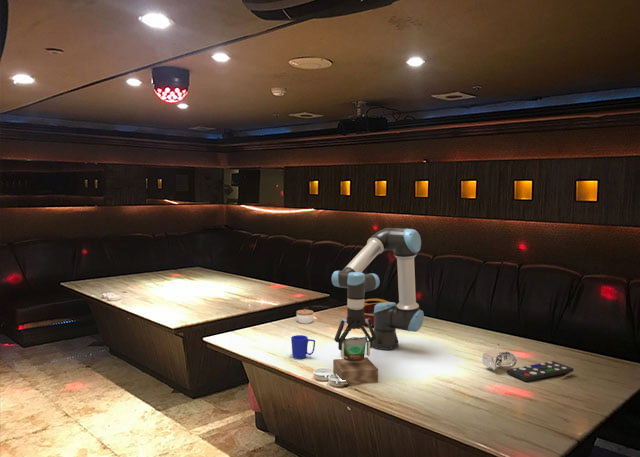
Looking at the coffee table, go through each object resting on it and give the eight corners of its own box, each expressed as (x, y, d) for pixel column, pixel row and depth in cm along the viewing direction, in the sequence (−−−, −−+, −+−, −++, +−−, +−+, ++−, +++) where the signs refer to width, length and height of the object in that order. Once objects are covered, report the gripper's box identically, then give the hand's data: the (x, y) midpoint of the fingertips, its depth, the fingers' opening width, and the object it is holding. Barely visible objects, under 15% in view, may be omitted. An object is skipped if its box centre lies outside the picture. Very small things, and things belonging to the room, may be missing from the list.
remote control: (506, 373, 230) (506, 368, 230) (553, 364, 243) (553, 360, 243) (525, 381, 220) (526, 376, 220) (573, 371, 233) (573, 367, 233)
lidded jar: (294, 322, 316) (294, 307, 315) (310, 321, 319) (310, 306, 318) (298, 326, 305) (299, 311, 305) (315, 325, 309) (315, 310, 308)
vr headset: (493, 373, 229) (495, 350, 227) (480, 365, 237) (481, 343, 235) (516, 368, 235) (518, 346, 233) (502, 360, 243) (504, 339, 241)
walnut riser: (366, 370, 231) (367, 357, 230) (377, 382, 215) (378, 369, 215) (333, 372, 228) (333, 359, 227) (341, 385, 212) (342, 371, 212)
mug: (313, 360, 243) (313, 340, 242) (289, 359, 245) (289, 339, 245) (316, 355, 251) (316, 336, 250) (293, 353, 253) (293, 334, 253)
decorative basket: (412, 322, 319) (412, 299, 318) (388, 331, 296) (388, 306, 295) (368, 313, 340) (368, 292, 339) (342, 322, 318) (342, 298, 317)
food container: (344, 363, 216) (345, 341, 216) (340, 359, 222) (340, 337, 222) (371, 361, 220) (371, 338, 219) (366, 356, 226) (366, 334, 225)
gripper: (378, 304, 225) (378, 352, 227) (327, 306, 221) (327, 355, 222) (384, 308, 218) (383, 357, 220) (331, 310, 213) (331, 360, 215)
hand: (355, 356), depth 221 cm, fingers closed on food container, 11 cm apart
